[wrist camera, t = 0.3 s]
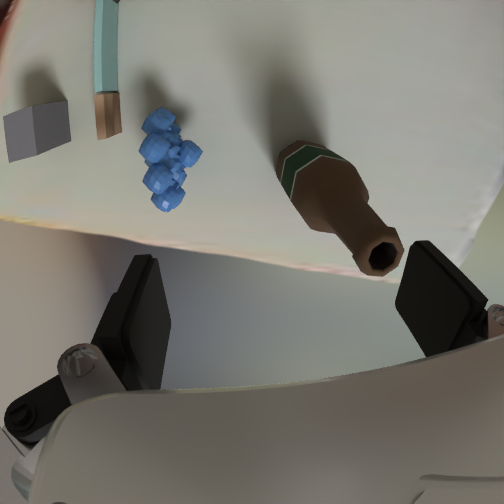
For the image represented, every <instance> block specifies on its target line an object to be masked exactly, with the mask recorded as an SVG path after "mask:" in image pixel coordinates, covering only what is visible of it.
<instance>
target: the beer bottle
mask: <svg viewBox="0 0 504 504" xmlns="http://www.w3.org/2000/svg"><path fill="white" fill-rule="evenodd" d="M276 175H277V178H278V179H279V181H280V183H281V185H282V186H283V188H284V190H285V192H286V194H287V195H288V197H289V199H290V201H291V202H292V203H293V205H294V206H295V208H296V209H297V211H298V212H299V213H300V215H301V216H302V218H303V219H304V221H305V222H306V223H307V225H308V226H309V227H310V228H311V229H313V230H316V231H320V232H327V233H334V234H336V235H337V236H338V237H339V238H340V240H341V241H342V242H343V243H344V244H345V245H346V247H347V248H348V249H349V250H350V251H351V252H352V254H353V256H352V257H353V259H354V260H355V262H356V264H357V266H358V267H359V269H360V271H361V272H363V273H365V274H366V275H370V276H382V277H383V276H384V275H386V274H387V273H389V272H390V271H392V270H393V269H395V268H396V267H398V265H399V262H400V260H401V257H402V255H403V253H404V248H403V245H402V243H401V241H400V238H399V236H398V234H397V231H396V229H395V228H393V227H388V226H386V224H385V223H384V222H383V221H382V220H381V219H380V217H379V216H378V215H377V214H376V213H375V212H374V210H373V209H372V208H371V207H370V206H369V205H368V204H367V203H368V200H369V194H368V190H367V188H366V186H365V185H364V183H363V181H362V179H361V177H360V175H359V173H358V172H357V170H356V168H355V167H354V166H353V165H352V164H351V163H350V162H349V161H347V160H346V159H344V158H342V157H341V156H339V155H337V154H336V153H334V152H332V151H331V150H329V149H327V148H326V147H324V146H322V145H319V144H314V143H309V142H304V141H299V140H298V141H296V142H295V143H293V144H292V145H290V146H289V147H287V148H286V149H285V150H283V151H282V152H280V155H279V160H278V166H277V171H276Z"/></svg>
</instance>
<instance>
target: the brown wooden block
mask: <svg viewBox="0 0 504 504" xmlns="http://www.w3.org/2000/svg"><path fill="white" fill-rule="evenodd" d="M113 1H114V2H115V3H118V2H119V1H120V0H113ZM94 102H95V116H96V128H97V138H98V140H100V139H106V138H109V137H111V136H113V135H116V134H118V133H121V132H122V127H121V114H120V98H119V93H110V94H100V95H95V96H94Z"/></svg>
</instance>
